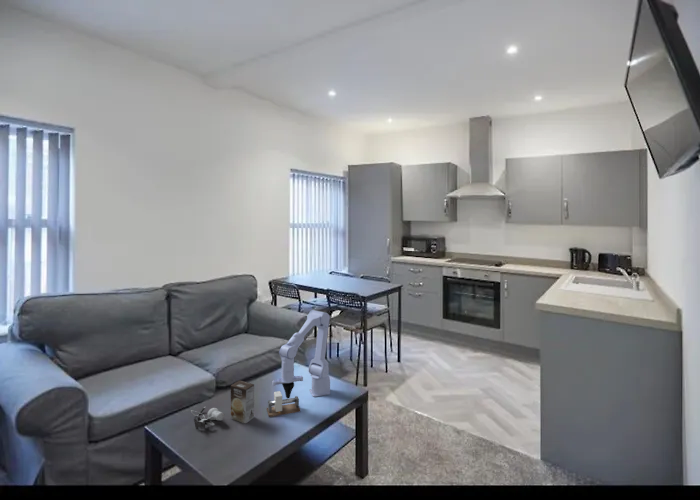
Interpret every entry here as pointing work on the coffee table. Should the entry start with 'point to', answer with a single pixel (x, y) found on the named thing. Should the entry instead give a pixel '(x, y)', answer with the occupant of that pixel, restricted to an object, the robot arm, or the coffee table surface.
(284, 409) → the rod jig
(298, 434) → the coffee table surface
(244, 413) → the coffee box
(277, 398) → the white block on rod
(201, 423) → the clip-on lamp
